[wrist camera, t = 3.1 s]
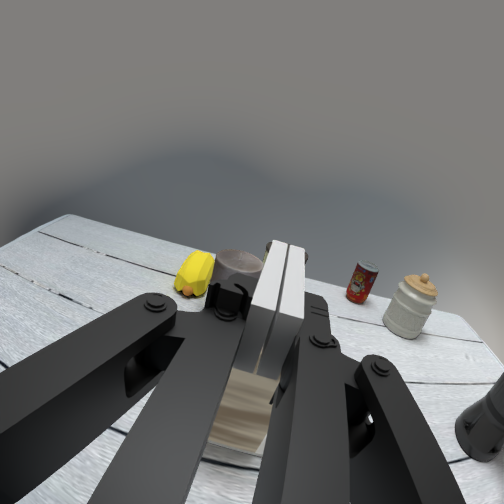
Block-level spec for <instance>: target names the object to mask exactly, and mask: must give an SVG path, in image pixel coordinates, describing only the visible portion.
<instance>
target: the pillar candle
mask: <svg viewBox="0 0 504 504" xmlns="http://www.w3.org/2000/svg"><path fill="white" fill-rule="evenodd" d="M263 265H264V263H263V262H261V260H259V259H258V258H257V257H255V256H254V255H251V254H250V253H247V252H244V251H240V250H232V249H229V250H222V251H219V252H218V253H217V254H216V258H215V263H214V267H213V272H212V277H211V281H210V283H211V282H212V281H215V280H219V279H228V277H229V276H230V275H232V274H235V273H237V272H238V273H241V274H244V275H248V276H251V277H254V278H258V279H260V276H261V273H262V269H263Z"/></svg>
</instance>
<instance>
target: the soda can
mask: <svg viewBox="0 0 504 504" xmlns="http://www.w3.org/2000/svg"><path fill="white" fill-rule="evenodd" d="M378 271H379V269H378V268H377V266H376V265H375V264H373V263H371V262H369V261H365V260H362V261H359V262H358V263H357V266H356V269H355V271H354V273H353V276H352V279H351V281H350V283H349V286H348V288H347V298H348V299H349V300H350V301H351V302H353V303H356V304H362V303H363V301H365V300H366V299H367V297H368V295H369V293H370V290H371V288H372V286H373V284H374V281H375V279H376V277H377V274H378Z"/></svg>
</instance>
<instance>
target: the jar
mask: <svg viewBox="0 0 504 504" xmlns="http://www.w3.org/2000/svg"><path fill="white" fill-rule="evenodd" d="M404 280H405V281H402V282H399V288H398V290H397V292H395V293H394V296H393V298H392V300H391V302H390V304H389V306H388V308H387V310H386V311H385V313H384V317H383V322H384V324H385V325H386V327H387V328H388V329H389V330H390V331H392V332H393V333H395V334H396V335H398V336H400V337H403V338H407V339H414V338H416V337H417V336H418V335H419V334H420V332H421V331H422V328H423V326H424V324H425V322H426V321H427V319H428V317H429V315H430V314H431V309H432V307H433V306H434V305H435V304H436V302H437V301H436V298H435V296H437V295H438V292H437V290H436V288H435V286H434V285H433V284H432V283H431V282H430V281H429V276H428V275H427V274H422V276H421V277H420V276H417V275H410V276H406V277H405V278H404Z"/></svg>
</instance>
